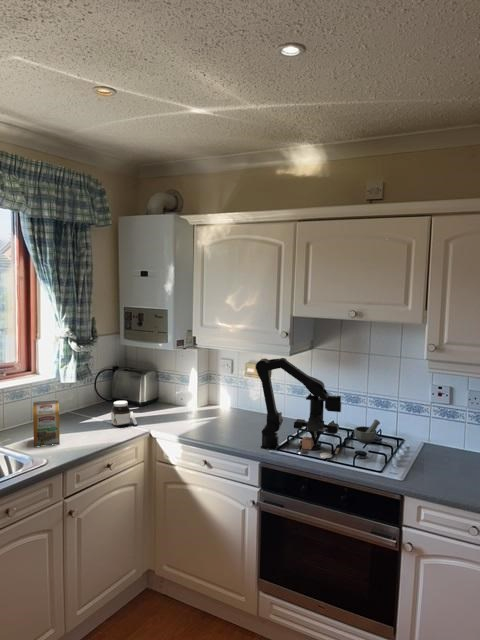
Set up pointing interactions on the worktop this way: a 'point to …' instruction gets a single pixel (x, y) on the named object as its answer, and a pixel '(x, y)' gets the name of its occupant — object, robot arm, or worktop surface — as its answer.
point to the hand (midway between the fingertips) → (315, 445)
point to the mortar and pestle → (366, 432)
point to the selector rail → (300, 444)
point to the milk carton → (46, 422)
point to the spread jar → (121, 414)
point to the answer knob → (307, 443)
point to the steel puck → (302, 452)
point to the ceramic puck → (326, 455)
